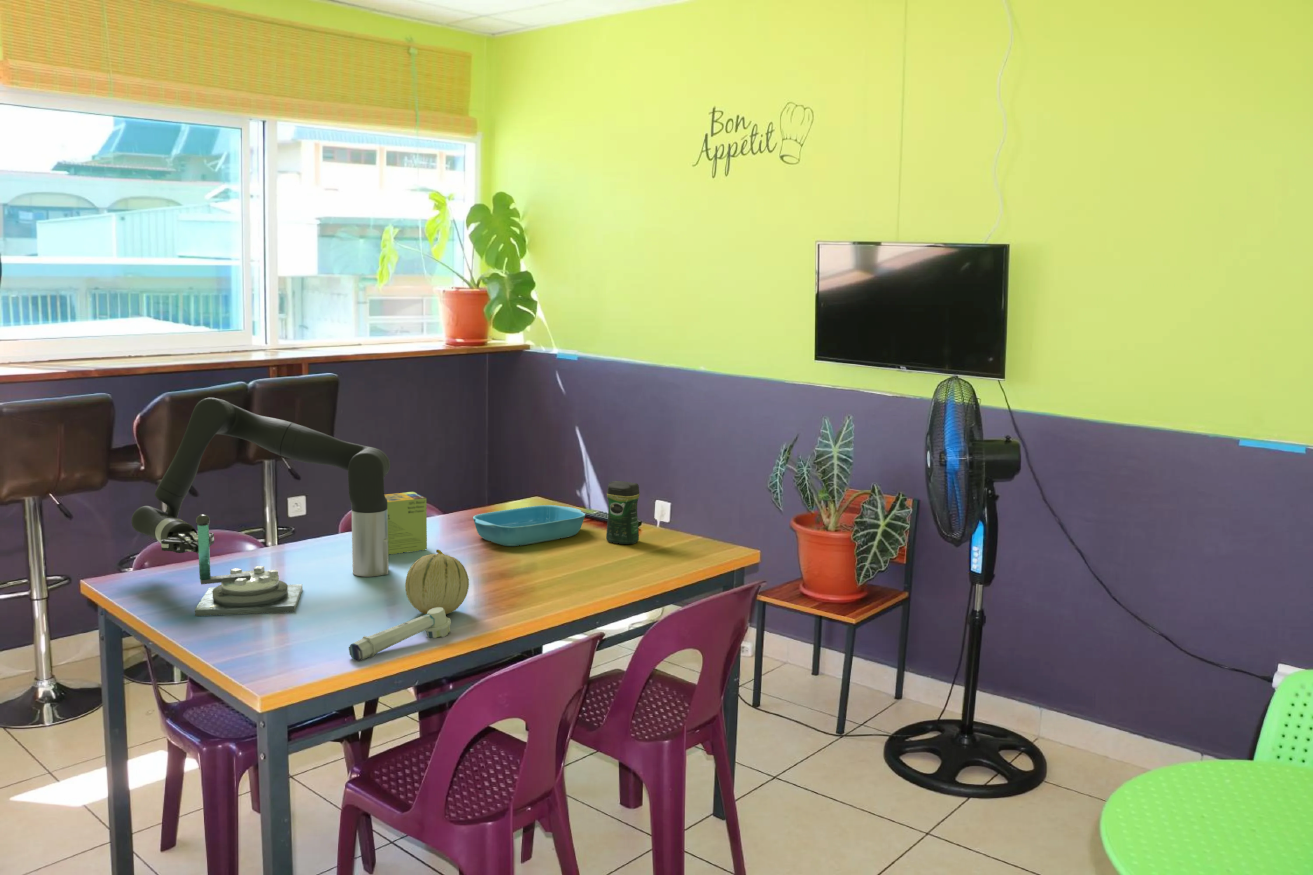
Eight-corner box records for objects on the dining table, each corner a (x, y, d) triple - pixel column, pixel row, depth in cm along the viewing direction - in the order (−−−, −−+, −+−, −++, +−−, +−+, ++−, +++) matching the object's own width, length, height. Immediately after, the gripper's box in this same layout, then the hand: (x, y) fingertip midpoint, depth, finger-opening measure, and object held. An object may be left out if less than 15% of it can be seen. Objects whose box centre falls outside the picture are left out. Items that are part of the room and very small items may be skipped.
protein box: (427, 550, 314) (427, 497, 312) (376, 556, 306) (375, 503, 303) (414, 542, 323) (413, 491, 320) (363, 548, 314) (362, 496, 312)
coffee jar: (642, 541, 330) (644, 481, 328) (629, 546, 324) (630, 485, 321) (615, 536, 335) (616, 477, 332) (601, 541, 328) (602, 481, 326)
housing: (302, 589, 273) (302, 576, 272) (294, 611, 256) (294, 597, 255) (209, 593, 268) (208, 579, 268) (194, 616, 251) (194, 601, 250)
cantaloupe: (412, 626, 247) (411, 563, 245) (400, 608, 260) (399, 547, 258) (475, 619, 253) (475, 557, 251) (461, 601, 266) (460, 542, 264)
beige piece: (345, 640, 226) (438, 598, 245) (349, 669, 228) (441, 625, 247) (360, 646, 223) (453, 603, 242) (365, 675, 225) (456, 631, 243)
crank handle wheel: (274, 578, 270) (272, 503, 267) (282, 592, 259) (280, 514, 256) (196, 586, 262) (193, 509, 259) (201, 601, 250) (198, 520, 248)
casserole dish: (554, 521, 354) (554, 500, 353) (598, 534, 338) (599, 512, 337) (458, 538, 329) (458, 515, 328) (501, 553, 313) (501, 529, 312)
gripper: (147, 523, 264) (171, 537, 251) (202, 516, 273) (228, 529, 260) (148, 553, 265) (172, 569, 252) (203, 545, 274) (229, 559, 261)
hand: (201, 548), depth 256 cm, fingers closed
